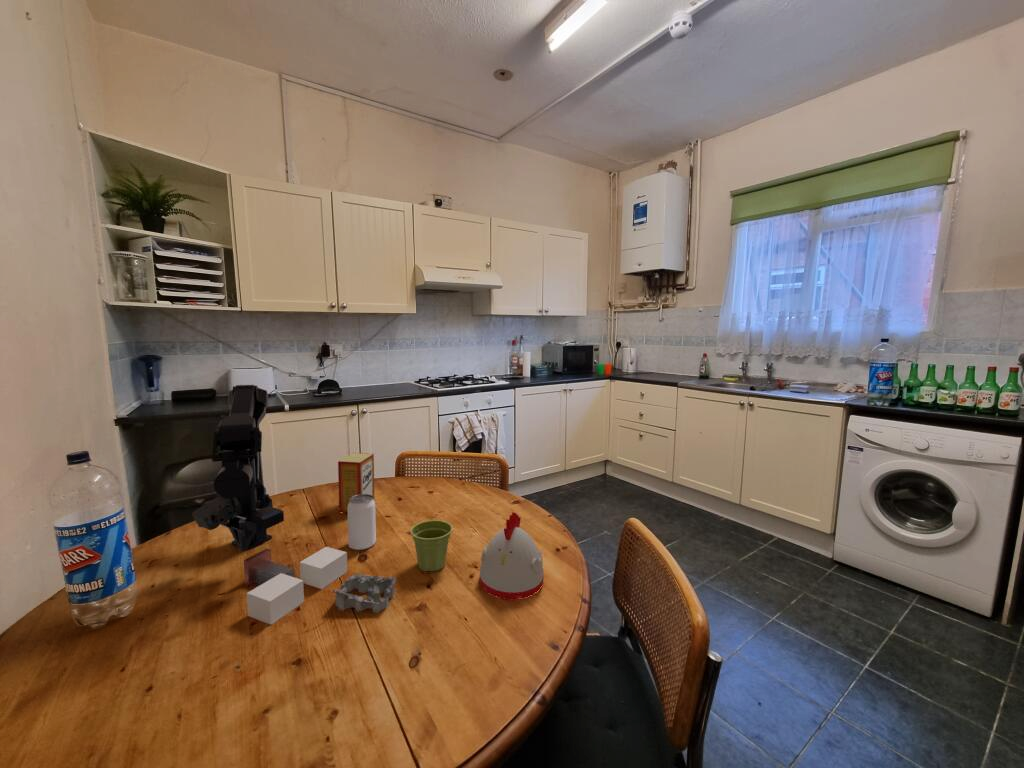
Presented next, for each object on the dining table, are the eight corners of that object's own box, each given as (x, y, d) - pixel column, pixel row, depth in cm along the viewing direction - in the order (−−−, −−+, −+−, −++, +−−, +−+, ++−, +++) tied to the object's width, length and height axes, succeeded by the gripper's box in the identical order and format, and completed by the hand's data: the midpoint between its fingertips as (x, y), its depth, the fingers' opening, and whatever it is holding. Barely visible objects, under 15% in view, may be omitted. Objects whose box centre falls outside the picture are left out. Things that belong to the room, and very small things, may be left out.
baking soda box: (354, 500, 129) (353, 451, 127) (374, 501, 128) (373, 452, 126) (339, 513, 119) (338, 460, 118) (360, 514, 119) (359, 461, 117)
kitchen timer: (468, 590, 84) (469, 521, 82) (494, 557, 97) (495, 497, 95) (532, 607, 79) (534, 534, 78) (550, 570, 92) (552, 506, 91)
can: (366, 552, 98) (366, 504, 97) (342, 549, 99) (341, 502, 98) (380, 539, 104) (380, 494, 103) (357, 536, 106) (357, 492, 104)
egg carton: (329, 611, 77) (329, 591, 77) (350, 587, 85) (349, 569, 84) (383, 616, 76) (383, 596, 76) (399, 592, 83) (398, 573, 83)
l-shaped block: (244, 583, 85) (243, 560, 84) (267, 570, 90) (266, 548, 89) (276, 594, 81) (275, 570, 81) (298, 580, 86) (297, 557, 86)
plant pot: (402, 564, 93) (402, 528, 92) (436, 549, 100) (436, 516, 99) (426, 582, 87) (426, 543, 86) (460, 564, 94) (460, 528, 93)
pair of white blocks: (248, 615, 75) (246, 593, 74) (326, 565, 92) (326, 546, 92) (271, 624, 73) (270, 601, 72) (347, 571, 90) (346, 552, 89)
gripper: (169, 486, 82) (174, 559, 84) (231, 502, 76) (235, 580, 77) (225, 470, 93) (228, 535, 94) (284, 482, 86) (287, 552, 88)
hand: (243, 550), depth 88 cm, fingers closed
